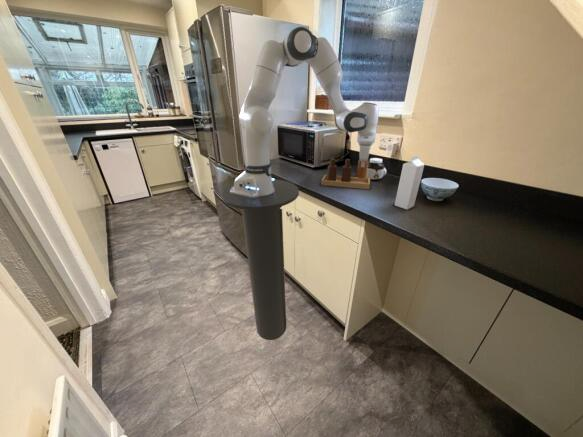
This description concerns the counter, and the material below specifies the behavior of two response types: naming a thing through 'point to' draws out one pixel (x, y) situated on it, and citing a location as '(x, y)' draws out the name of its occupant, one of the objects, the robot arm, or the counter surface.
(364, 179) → the tray
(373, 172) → the spread jar
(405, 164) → the milk
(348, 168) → the bottle
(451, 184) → the chinaware
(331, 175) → the bottle
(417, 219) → the counter surface
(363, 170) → the amber bottle
